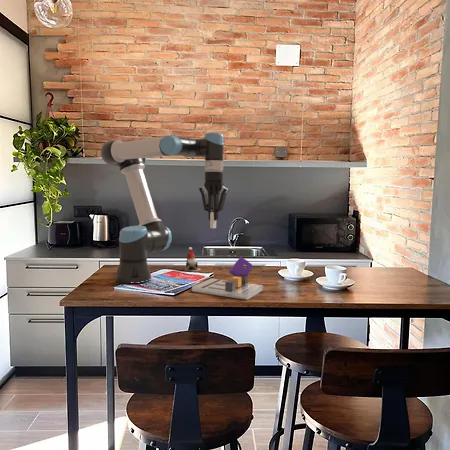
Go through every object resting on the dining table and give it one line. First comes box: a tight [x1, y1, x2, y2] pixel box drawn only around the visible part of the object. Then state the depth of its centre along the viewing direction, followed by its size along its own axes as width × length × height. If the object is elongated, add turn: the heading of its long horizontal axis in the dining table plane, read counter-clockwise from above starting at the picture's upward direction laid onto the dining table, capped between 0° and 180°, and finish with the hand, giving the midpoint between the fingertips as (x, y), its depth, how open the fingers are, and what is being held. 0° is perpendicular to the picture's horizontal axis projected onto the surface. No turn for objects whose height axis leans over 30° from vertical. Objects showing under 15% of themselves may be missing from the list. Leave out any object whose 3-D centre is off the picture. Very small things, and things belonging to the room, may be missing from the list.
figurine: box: [184, 246, 202, 272], centre depth 211 cm, size 8×10×12 cm
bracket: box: [228, 256, 253, 277], centre depth 184 cm, size 12×7×7 cm
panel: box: [191, 274, 264, 301], centre depth 172 cm, size 24×16×6 cm, turn 63°
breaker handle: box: [230, 276, 242, 287], centre depth 170 cm, size 3×3×4 cm
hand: (213, 227), depth 179 cm, fingers closed
